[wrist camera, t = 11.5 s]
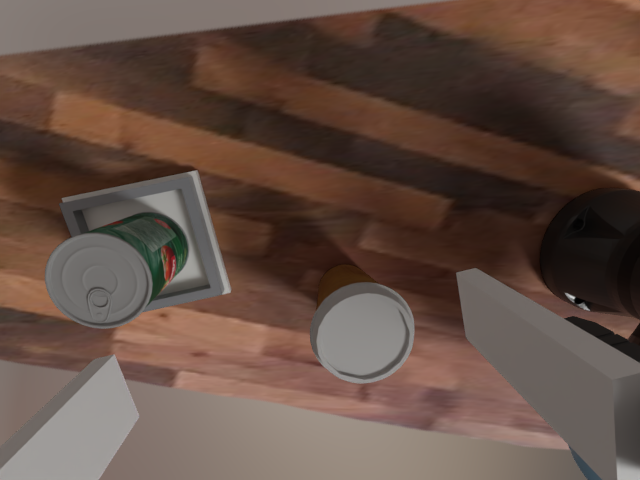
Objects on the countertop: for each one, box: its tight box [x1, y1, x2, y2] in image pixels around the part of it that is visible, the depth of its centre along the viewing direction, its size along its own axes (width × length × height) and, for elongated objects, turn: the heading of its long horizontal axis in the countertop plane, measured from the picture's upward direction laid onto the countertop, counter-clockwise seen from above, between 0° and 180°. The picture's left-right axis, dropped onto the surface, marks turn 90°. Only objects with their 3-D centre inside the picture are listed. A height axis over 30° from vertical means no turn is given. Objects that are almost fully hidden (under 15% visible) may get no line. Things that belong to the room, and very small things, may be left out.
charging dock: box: [59, 170, 231, 312], centre depth 37 cm, size 14×14×2 cm
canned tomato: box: [45, 212, 189, 329], centre depth 32 cm, size 8×8×11 cm
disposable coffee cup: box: [310, 264, 414, 383], centre depth 36 cm, size 10×10×12 cm
